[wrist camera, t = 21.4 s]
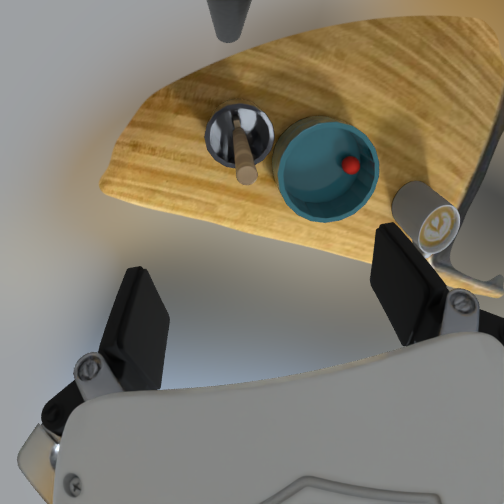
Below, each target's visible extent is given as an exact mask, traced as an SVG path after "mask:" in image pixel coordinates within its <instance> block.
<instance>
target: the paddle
mask: <svg viewBox="0 0 504 504" xmlns="http://www.w3.org/2000/svg"><path fill="white" fill-rule="evenodd" d="M233 122H234V127H235V129H234V130H233V144H234V155H235V167H236V177H237V180H238V181H239V182H240V183H241V184H243V185H250V184H253V183H254V182H255V181H256V179H257V176H258V174H257V170H256V167H255V163H254V160H253V157H252V153H251V150H250V147H249V144H248V140H247V137H246V134H245V131H244V129H243V128H241V125H240V120H239V116H238V115H235V116H233Z"/></svg>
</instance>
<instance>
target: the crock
mask: <svg viewBox="0 0 504 504" xmlns="http://www.w3.org/2000/svg"><path fill="white" fill-rule="evenodd" d="M235 115H238V116H239V120H240V125H241V128H243V129H244V131H245V134H246V137H247V140H248V144H249V147H250V150H251V153H252V157H253V160H254V163H255V165H256V164H257V163H259V162H261V161H263V160H264V158H265V157H266V156H267V155H268V153H269V152H270V151H271V149H272V145H273V141H274V130H273V125H272V123H271V121H270V120H269V118H268V116H267V115H266V114H265V113H264V112H263V111H262V110H261V109H260V108H259V107H258V106H257V105H255V104H254V103H252V102H251V101H249V100H245V99H238V98H237V99H231V100H227V101H225V102H223V103H222V104H220V105H219V106H217V107H216V109H215V110H214V112H213V113H212V114H211V116H210V119H209V121H208V123H207V126H206V131H205V136H204V138H205V142H206V147H207V150H208V151H209V153H210V154H211V156H212V157H213V158H214V160H216V161H217V162H219V163H221V164H222V165H224V166H226V167H230V168H235V169H236V167H235V155H234V144H233V130H234V129H235V127H234V122H233V116H235Z"/></svg>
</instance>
